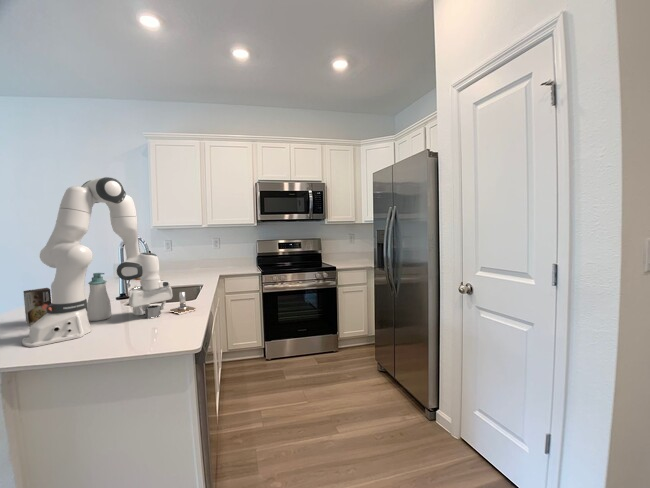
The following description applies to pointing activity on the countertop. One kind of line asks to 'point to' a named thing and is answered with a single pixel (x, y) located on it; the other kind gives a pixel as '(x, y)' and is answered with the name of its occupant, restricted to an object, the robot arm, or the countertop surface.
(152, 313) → the hub
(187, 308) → the shaft block
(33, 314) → the coffee box
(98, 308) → the soap bottle
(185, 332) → the countertop surface
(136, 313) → the pill bottle
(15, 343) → the countertop surface
